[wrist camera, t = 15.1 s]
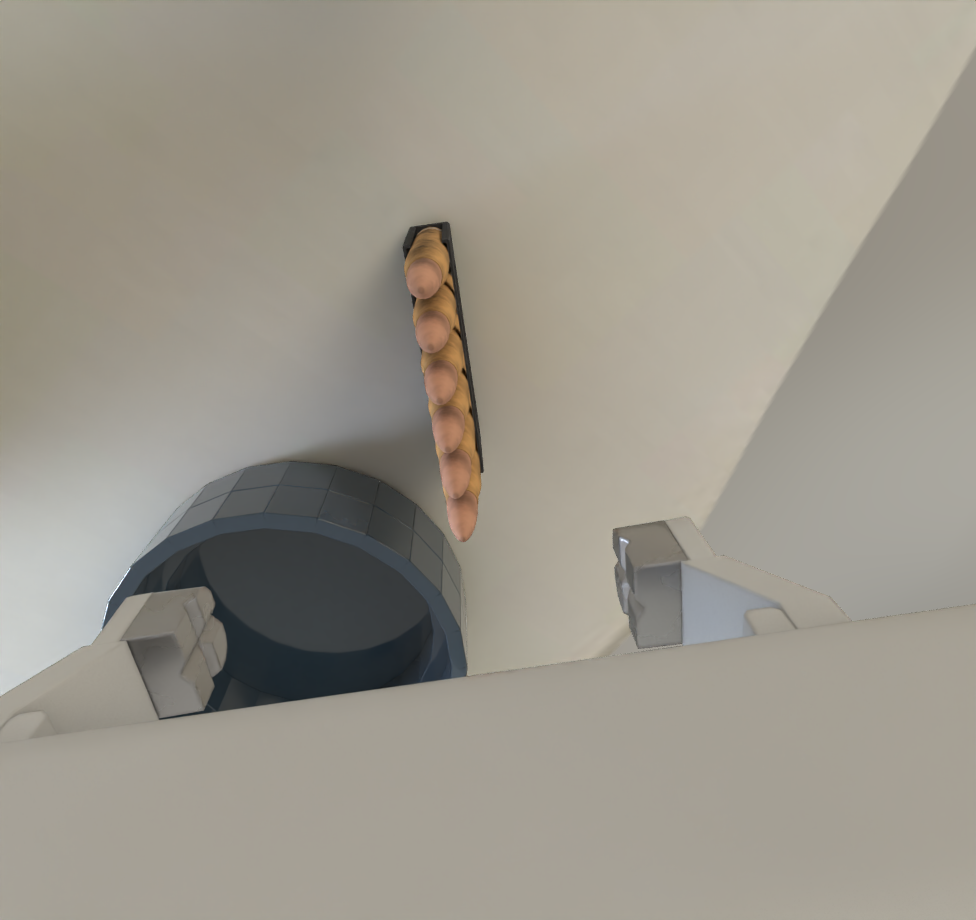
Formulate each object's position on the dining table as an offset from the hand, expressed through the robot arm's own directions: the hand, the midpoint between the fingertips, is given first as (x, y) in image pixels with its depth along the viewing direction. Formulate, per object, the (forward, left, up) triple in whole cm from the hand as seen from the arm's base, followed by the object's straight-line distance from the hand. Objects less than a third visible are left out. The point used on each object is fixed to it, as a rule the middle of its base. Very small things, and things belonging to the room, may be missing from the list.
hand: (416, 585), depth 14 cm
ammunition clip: (0, 0, -22) cm, 22 cm away
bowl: (-10, -14, -22) cm, 28 cm away
